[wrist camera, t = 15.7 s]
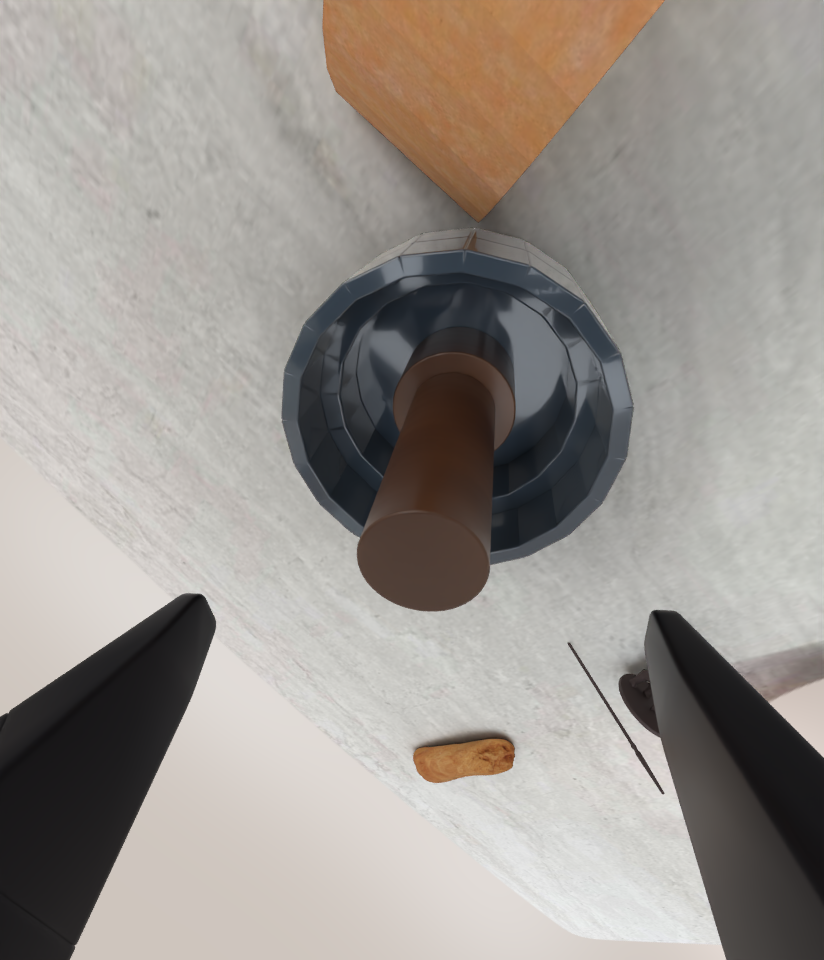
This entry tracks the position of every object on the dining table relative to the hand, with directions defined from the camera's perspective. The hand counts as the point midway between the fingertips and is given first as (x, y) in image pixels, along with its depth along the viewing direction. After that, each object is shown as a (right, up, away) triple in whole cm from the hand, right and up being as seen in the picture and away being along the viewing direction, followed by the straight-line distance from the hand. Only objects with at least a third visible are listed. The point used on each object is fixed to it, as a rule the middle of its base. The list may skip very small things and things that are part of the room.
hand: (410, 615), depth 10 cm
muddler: (+2, +7, +10) cm, 12 cm away
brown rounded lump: (+3, -15, +24) cm, 29 cm away
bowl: (+2, +7, +11) cm, 13 cm away
